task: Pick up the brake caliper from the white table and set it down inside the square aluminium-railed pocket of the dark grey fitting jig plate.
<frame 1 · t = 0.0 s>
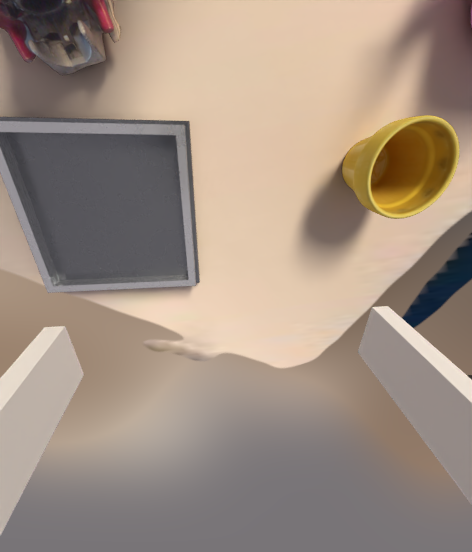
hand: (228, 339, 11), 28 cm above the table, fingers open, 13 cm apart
plant pot: (362, 165, 36), on the table
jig: (115, 212, 35), on the table
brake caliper: (64, 15, 26), on the table
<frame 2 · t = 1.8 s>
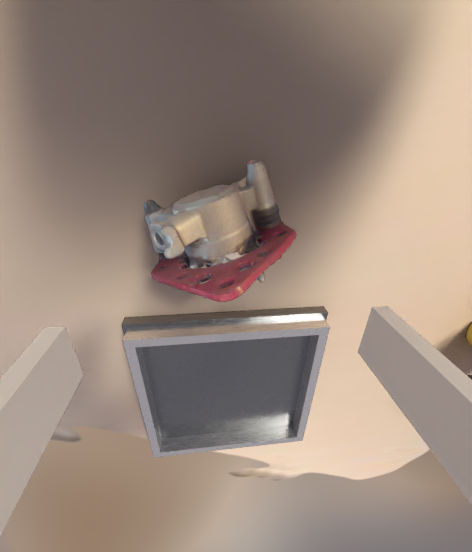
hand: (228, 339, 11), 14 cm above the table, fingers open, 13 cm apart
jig: (228, 379, 33), on the table
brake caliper: (217, 227, 23), on the table
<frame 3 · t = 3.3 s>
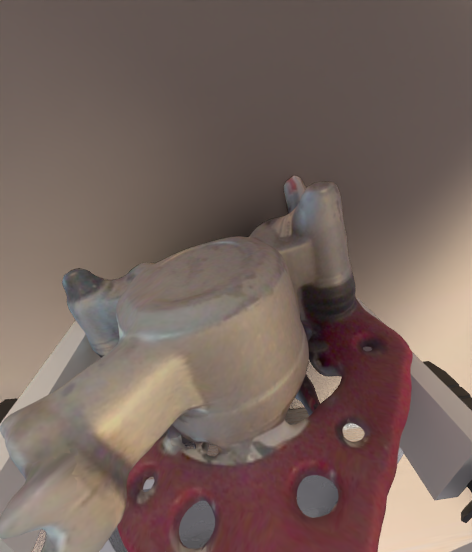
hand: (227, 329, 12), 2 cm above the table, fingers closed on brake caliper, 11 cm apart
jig: (237, 491, 23), on the table
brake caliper: (225, 293, 13), on the table, touching gripper
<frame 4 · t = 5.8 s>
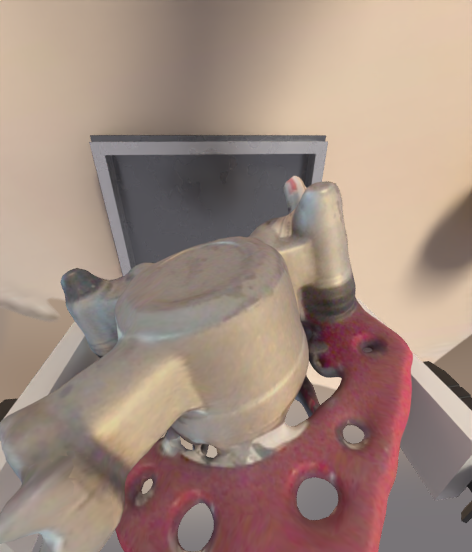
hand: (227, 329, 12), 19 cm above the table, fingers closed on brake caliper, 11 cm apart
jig: (217, 241, 30), on the table
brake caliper: (224, 294, 13), point 17 cm above the table, touching gripper
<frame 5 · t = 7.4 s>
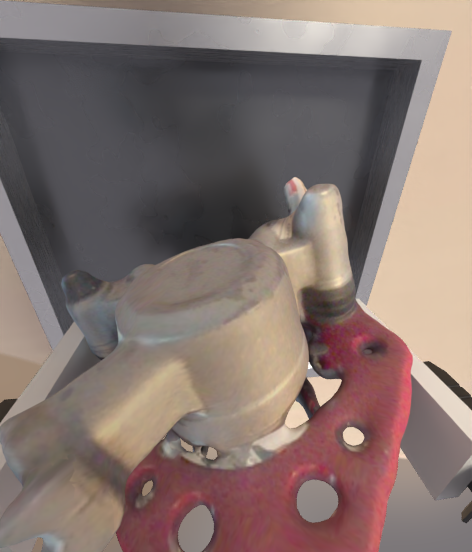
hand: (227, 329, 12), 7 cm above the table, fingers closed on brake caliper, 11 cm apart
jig: (211, 244, 17), on the table
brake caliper: (224, 295, 13), point 5 cm above the table, touching gripper
when the fingers open (4 cm above the table, at t = 8.7 s): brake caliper drops 1 cm, resting on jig.
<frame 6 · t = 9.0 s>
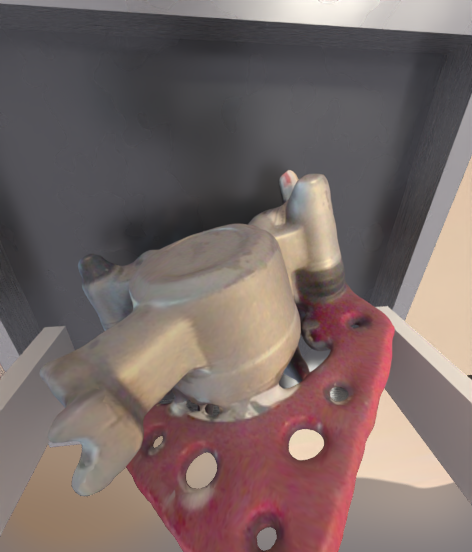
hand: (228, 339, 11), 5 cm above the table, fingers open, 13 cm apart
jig: (212, 266, 14), on the table
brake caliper: (225, 282, 14), point 1 cm above the table, touching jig
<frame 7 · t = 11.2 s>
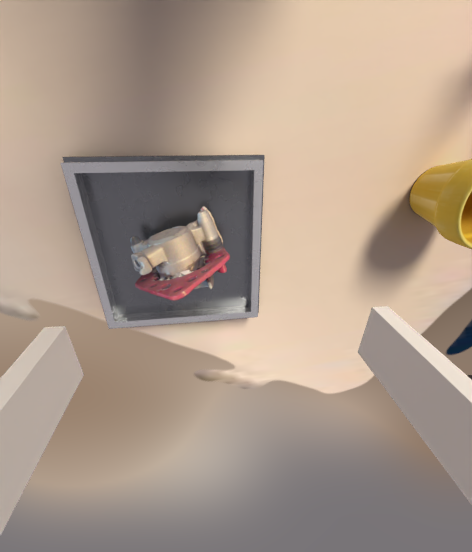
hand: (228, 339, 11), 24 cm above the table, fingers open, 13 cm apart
plant pot: (429, 191, 35), on the table
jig: (179, 246, 34), on the table
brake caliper: (184, 250, 33), point 1 cm above the table, touching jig
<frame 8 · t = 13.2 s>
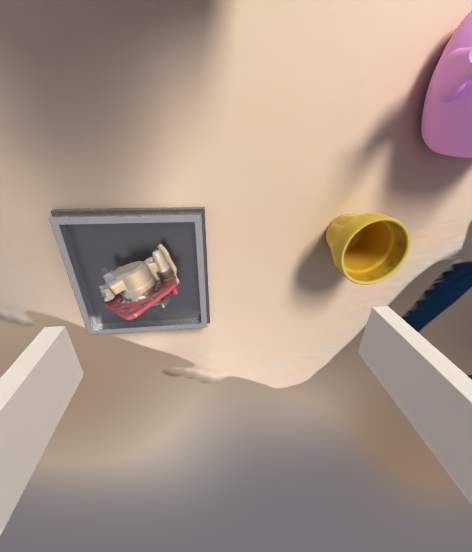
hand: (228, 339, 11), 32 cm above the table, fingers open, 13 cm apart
plant pot: (342, 232, 44), on the table
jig: (143, 272, 43), on the table
teapot: (462, 91, 36), on the table
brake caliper: (146, 275, 43), point 1 cm above the table, touching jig
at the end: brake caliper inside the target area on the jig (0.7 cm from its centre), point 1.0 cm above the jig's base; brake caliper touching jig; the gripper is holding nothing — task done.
